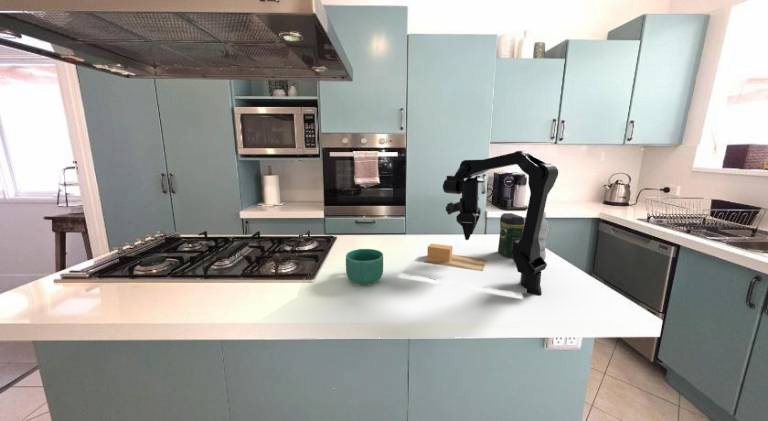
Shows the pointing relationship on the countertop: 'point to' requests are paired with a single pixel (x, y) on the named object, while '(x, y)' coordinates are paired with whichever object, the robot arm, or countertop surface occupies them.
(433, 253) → the block
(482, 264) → the oak board
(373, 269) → the mug
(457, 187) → the robot arm
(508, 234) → the coffee jar
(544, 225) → the plastic bottle
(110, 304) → the countertop surface
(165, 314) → the countertop surface
